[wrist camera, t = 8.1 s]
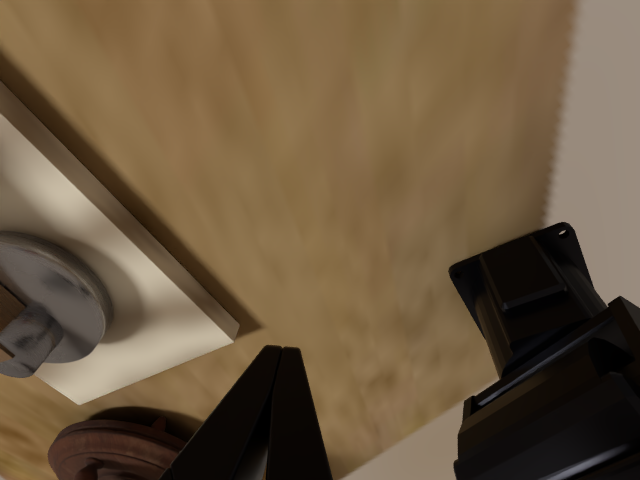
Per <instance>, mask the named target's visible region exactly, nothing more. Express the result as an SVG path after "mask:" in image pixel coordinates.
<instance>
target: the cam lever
mask: <svg viewBox="0 0 640 480" xmlns="http://www.w3.org/2000/svg"><path fill="white" fill-rule="evenodd" d="M112 320H113V306H112V301H111V299H110V296H109V294H108V292H107V290H106V288H105V287H104V285H103V284H102V282H101V281H100V279H99V278H98V277H97V276H96V275H95V274H94V272H93V271H92V270H91V269H89V268H88V267H87V266H86V265H85V264H84V263H83V262H82V261H80V260H79V259H78V258H77V257H75V256H74V255H72V254H71V253H69V252H68V251H66V250H64V249H63V248H61V247H59V246H57V245H55V244H53V243H51V242H49V241H47V240H44V239H42V238H39V237H36V236H33V235H29V234H26V233H21V232H15V231H4V230H1V231H0V373H1V374H4V375H7V376H11V377H17V378H25V377H29V376H31V375H33V374H34V373H35V372H36V371H37V369H38V368H39V367H40V366H41V364H42V363H69V362H74V361H77V360H80V359H83V358H84V357H86V356H88V355H89V354H90V353H91V352H92V351H93V350H94V349H95V347H96V346H97V344H98V343H99V342H100V340H101V339H102V337H103V336H104V335H105V333H106V332H107V330H108V329H109V328H110V326H111V323H112Z"/></svg>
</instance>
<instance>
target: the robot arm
mask: <svg viewBox="0 0 640 480" xmlns="http://www.w3.org/2000/svg"><path fill="white" fill-rule="evenodd" d="M564 230H566V231H565V232H564V233H563V234H560V235H559V233H560V232H561V231H564ZM458 271H461V273H459V274H455V273H456V272H458ZM448 272H449V275H450V278H451V280H452V282H453V284H454V286H455V287H456V289H457V291H458V293H459V294H460V296H461V298H462V300H463V301H464V303H465V305H466V307H467V308H468V310H469V312H470V314H471V316H472V317H473V319H474V321H475V323H476V324H477V326H478V328H479V330H480V331H481V333H482V335H483V337H484V338H485V340H486V342H487V344H488V347H489V350H490V353H491V356H492V359H493V362H494V365H495V367H496V370H497V373H498V376H499V379H500V380H499V381H497V382H496V383H494V384H493V385H491V386H490V387H488V388H487V389H485V390H484V391H482V392H481V393H479V394H478V395H476V396H471V397H469V398H468V399H467V400H465V401H464V408H463V421H462V425H461V428H460V430H459V433H458V459H457V460H455V461H454V472H455V476H456V480H640V308H639V307H637V306H635V305H634V304H632V303H631V302H629V301H628V300H626V299H625V298H623V297H622V296H619V297H617V298H616V299H614V300H613V301H611V302H610V303H608V306H609V307H607V306H606V304H605V303H604V302H603V300H602V299H601V298H600V296H599V295H598V294H597V292H596V291H595V289H594V287H593V284H592V281H591V278H590V275H589V272H588V269H587V266H586V263H585V260H584V257H583V255H582V251H581V248H580V245H579V242H578V239H577V236H576V233H575V231H574V229H573V228H572V227H571V225H570V224H568V223H566V222H561V223H557V224H555V225H552V226H550V227H547V228H544V229H542V230H539V231H537V232H534V233H532V234H529V235H527V236H524V237H522V238H519V239H517V240H514V241H512V242H509V243H507V244H504V245H502V246H499V247H496V248H494V249H491V250H489V251H486V252H484V253H481V254H479V255H476V256H474V257H471V258H469V259H466V260H464V261H461V262H459V263H456V264H454V265H452V266H451V267H450V268H449V271H448ZM266 463H267V468H266V480H333V478H332V474H331V470H330V466H329V462H328V458H327V454H326V451H325V447H324V443H323V439H322V435H321V431H320V427H319V423H318V419H317V415H316V411H315V407H314V403H313V399H312V395H311V391H310V387H309V383H308V379H307V375H306V371H305V367H304V363H303V359H302V355H301V351H300V349H299V348H297V347H287V346H286V347H284V348H282V347H281V346H276V345H266V346H265V347H264V348H263V349H262V350H261V351H260V353H259V354H258V355H257V356H256V358H255V359H254V360H253V361H252V363H251V364H250V365H249V366H248V368H247V369H246V370H245V371H244V373H243V374H242V375H241V376H240V378H239V379H238V380H237V381H236V383H235V384H234V385H233V386H232V388H231V389H230V390H229V391H228V393H227V394H226V395H225V396H224V398H223V399H222V400H221V401H220V403H219V404H218V405H217V406H216V408H215V409H214V410H213V411H212V413H211V414H210V415H209V417H208V418H207V419H206V420H205V422H204V423H203V424H202V425H201V427H200V428H199V429H198V430H197V432H196V433H195V434H194V435H193V437H192V438H191V439H190V440H189V442H188V443H187V444H186V445H185V447H184V448H183V449H182V450H181V452H180V453H179V454H178V455H177V457H176V458H175V459H174V460H173V462H172V463H171V464H170V468H171V469H170V468H167V469H166V470H165V471H164V473H163V474H162V475H161V476H160V478H159V479H158V480H262V478H263V474H264V470H265V467H266Z"/></svg>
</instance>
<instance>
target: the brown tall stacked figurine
mask: <svg viewBox="0 0 640 480" xmlns="http://www.w3.org/2000/svg"><path fill="white" fill-rule="evenodd" d="M165 426H166V419H165V417H163V416H161V417H159V418H158V419H157V420H156V421H155V422H154V423H153V425H152V426H151V427H148V426H144V425H141V424H136V423H131V422H125V421H117V420H89V421H83V422H78V423H75V424H72V425H70V426H68V427H66V428H65V429H63V430H62V431H61V432H60V433H59V434H58V436H57V437H56V439H55V440H54V442H53V444H52V445H51V447H50V448H49V451H48V461H49V464H50V466H51V468H52V469H53V471H54V472H55V473H56V475H57V477H58V479H59V480H158V479H159V478H160V476H161V475H162V474H163V473H164V471H165V470H166V469H167V468H170V464H171V463H172V462H173V460H174V459H175V458H176V457H177V455H178V454H179V453H180V452H181V450H182V449H183V448H184V447H185V445H186V444H187V443H186V442H184V441H183V440H181V439H179V438H177V437H175V436H172V435H170V434H168V433H166V432H164V431H165ZM170 469H171V468H170Z"/></svg>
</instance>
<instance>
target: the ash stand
mask: <svg viewBox="0 0 640 480" xmlns="http://www.w3.org/2000/svg"><path fill="white" fill-rule="evenodd" d="M1 230H4V231H15V232H21V233H26V234H29V235H33V236H36V237H39V238H42V239H44V240H47V241H49V242H51V243H53V244H55V245H57V246H59V247H61V248H63V249H64V250H66V251H68V252H69V253H71V254H72V255H74V256H75V257H77V258H78V259H79V260H80V261H82V262H83V263H84V264H85V265H86V266H87V267H88V268H89V269H91V270H92V271H93V272H94V274H95V275H96V276H97V277H98V278H99V279H100V281H101V282H102V284H103V285H104V287H105V288H106V290H107V292H108V294H109V296H110V299H111V301H112V306H113V320H112V323H111V326H110V328H109V329H108V330H107V332H106V333H105V335H104V336H103V337H102V339H101V340H100V342H99V343H98V344H97V346H96V347H95V349H94V350H93V351H92V352H91V353H90V354H89V355H88V356H86V357H84V358H83V359H80V360H77V361H74V362H69V363H42V364H41V366H40V367H39V368H38V369H37V371H36V372H35V373H34V375H35V376H37V377H38V378H40V379H41V380H43V381H44V382H46V383H47V384H49V385H50V386H52V387H53V388H54V389H56V390H57V391H59V392H60V393H62V394H63V395H65V396H66V397H68V398H69V399H71V400H72V401H74V402H75V403H76V404H78V405H81V404H83V403H86V402H88V401H91V400H93V399H96V398H98V397H100V396H103V395H105V394H108V393H110V392H113V391H115V390H118V389H120V388H123V387H125V386H128V385H130V384H132V383H135V382H137V381H140V380H142V379H145V378H147V377H150V376H152V375H155V374H157V373H159V372H162V371H164V370H167V369H169V368H172V367H174V366H177V365H179V364H182V363H184V362H186V361H189V360H191V359H194V358H196V357H199V356H201V355H204V354H206V353H209V352H211V351H213V350H216V349H218V348H221V347H223V346H226V345H228V344H231V343H233V342H234V341H235V338H236V335H237V332H238V329H239V326H240V324H239V323H238V322H237V321H236V320H235V319H234V318H233V317H232V316H231V315H230V314H229V313H228V312H227V311H226V310H225V309H224V308H223V307H222V306H221V305H220V304H219V303H218V302H217V301H216V300H215V299H214V298H213V297H212V296H211V295H210V294H209V293H208V292H207V291H206V290H205V289H204V288H203V287H202V286H201V285H200V284H199V283H198V282H197V281H196V280H195V279H194V278H193V277H192V276H191V275H190V273H189V272H188V271H187V270H186V269H185V268H184V267H183V266H182V265H181V264H180V263H179V262H178V261H177V260H176V259H175V258H174V257H173V256H172V255H171V254H170V253H169V252H168V251H167V250H166V249H165V248H164V247H163V246H162V245H161V244H160V243H159V242H158V241H157V240H156V239H155V238H154V237H153V236H152V235H151V234H150V233H149V232H148V231H147V230H146V229H145V228H144V227H143V226H142V225H141V224H140V222H139V221H138V220H137V219H136V218H135V217H134V216H133V215H132V214H131V213H130V212H129V211H128V210H127V209H126V208H125V207H124V206H123V205H122V204H121V203H120V202H119V201H118V200H117V199H116V198H115V197H114V196H113V195H112V194H111V193H110V192H109V191H108V190H107V189H106V188H105V187H104V186H103V185H102V184H101V183H100V182H99V181H98V180H97V179H96V178H95V177H94V176H93V175H92V174H91V173H90V171H89V170H88V169H87V168H86V167H85V166H84V165H83V164H82V163H81V162H80V161H79V160H78V159H77V158H76V157H75V156H74V155H73V154H72V153H71V152H70V151H69V150H68V149H67V148H66V147H65V146H64V145H63V144H62V143H61V142H60V141H59V140H58V139H57V138H56V137H55V136H54V135H53V134H52V133H51V132H50V131H49V130H48V129H47V128H46V127H45V126H44V125H43V124H42V123H41V122H40V120H39V119H38V118H37V117H36V116H35V115H34V114H33V113H32V112H31V111H30V110H29V109H28V108H27V107H26V106H25V105H24V104H23V103H22V102H21V101H20V100H19V99H18V98H17V97H16V96H15V95H14V94H13V93H12V92H11V91H10V90H9V89H8V88H7V87H6V86H5V85H4V84H3V83H2V82H1V81H0V231H1Z"/></svg>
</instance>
